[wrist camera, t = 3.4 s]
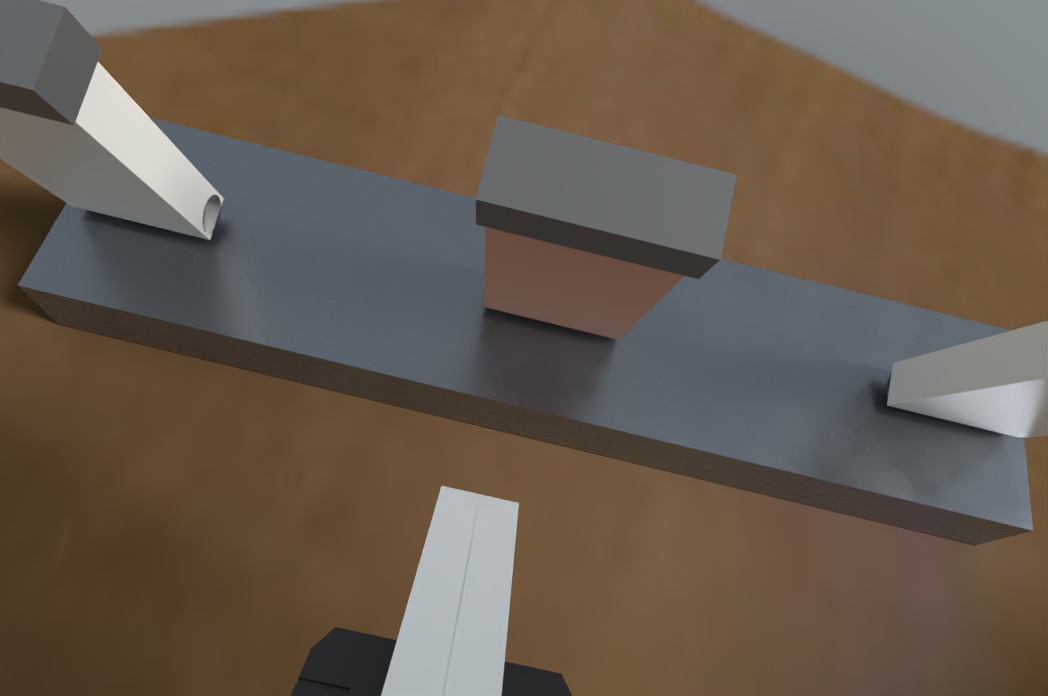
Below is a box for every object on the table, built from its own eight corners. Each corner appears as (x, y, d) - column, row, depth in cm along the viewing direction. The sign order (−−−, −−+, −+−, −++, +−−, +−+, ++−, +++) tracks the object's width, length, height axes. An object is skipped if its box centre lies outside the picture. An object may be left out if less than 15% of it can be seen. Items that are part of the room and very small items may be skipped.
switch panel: (975, 545, 28) (1036, 529, 26) (57, 324, 28) (15, 283, 25) (964, 361, 32) (1017, 329, 29) (147, 160, 31) (119, 107, 28)
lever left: (215, 248, 26) (32, 89, 16) (67, 212, 26) (-222, 27, 15) (232, 197, 27) (65, 7, 16) (86, 160, 27) (-183, -55, 16)
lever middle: (622, 347, 27) (720, 259, 16) (476, 311, 27) (475, 199, 16) (633, 295, 27) (737, 174, 16) (490, 260, 27) (497, 115, 16)
